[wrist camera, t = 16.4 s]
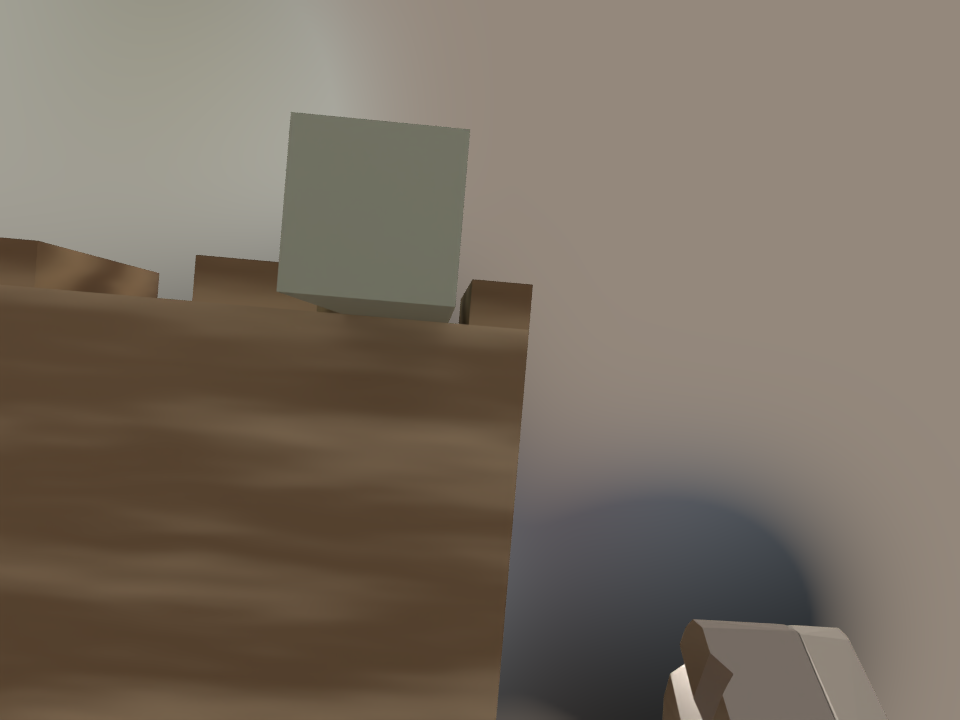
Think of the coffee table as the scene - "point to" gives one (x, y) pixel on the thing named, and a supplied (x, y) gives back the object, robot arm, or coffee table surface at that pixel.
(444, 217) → the gray-green block
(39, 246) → the wooden box
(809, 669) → the robot arm
